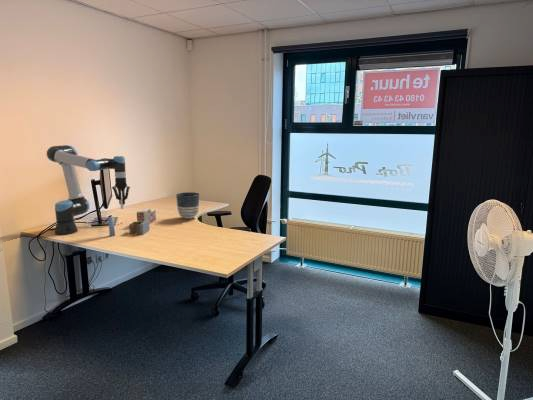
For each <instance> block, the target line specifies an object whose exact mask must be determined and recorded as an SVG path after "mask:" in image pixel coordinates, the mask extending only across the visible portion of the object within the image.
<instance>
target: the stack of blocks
mask: <svg viewBox="0 0 533 400" xmlns="http://www.w3.org/2000/svg"><path fill="white" fill-rule="evenodd" d="M146 220H149V225H151V224H152V223H154V222H156V221H157V214H156V209H152V208H142V209H140V210H138V211H136V222H144V221H146Z"/></svg>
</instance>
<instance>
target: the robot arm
mask: <svg viewBox="0 0 533 400" xmlns="http://www.w3.org/2000/svg"><path fill="white" fill-rule="evenodd" d="M46 157H47V159H48V160H49V161H51V162H54V163H58V165H60V166H61V168H62V172H63V176H64V180H65V185H66V188H67V192H68V198H67V200H61V201H58V202H56V203H55V205H54V210H55V221H56V224H55V228H54V234H55V235H58V236H62V235H72V234H76V233H78V232H79V231H78V226H77V225H76V222H75V217H76V216H80V215H83V214H86V213H87V212H88V211H89V210H90V202H89V200H88V199H87V198H85V195H83V194H82V191H81V186H80V184H79V178H78V175H77V170H76V167H80V168H83V169H87V170H89V171H90V172H96V171H102V170H114V177H115V178H114V180H115V181H114V182H115V184H114V185H113V186H112V187H111V189H112V190H113V193H114V196H115V199H116V200H118V202H119V203H118V204H119V205H120V210H124V209H125V204H126V200H128V197H129V192H130V189H131V186H130V185H129V186H128V184H127V177H126V176H127V172H126V161H125V160H126V159H125V158H126V157H125V156H123V155H115V156H113V158H105V157H103V158H100V159H94V158H90V157H86V156H82V155H78V151H77V150H76V148H75V147H74V146H72V145H66V144H65V145H54V146H50V147H49V148H47V150H46Z"/></svg>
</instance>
